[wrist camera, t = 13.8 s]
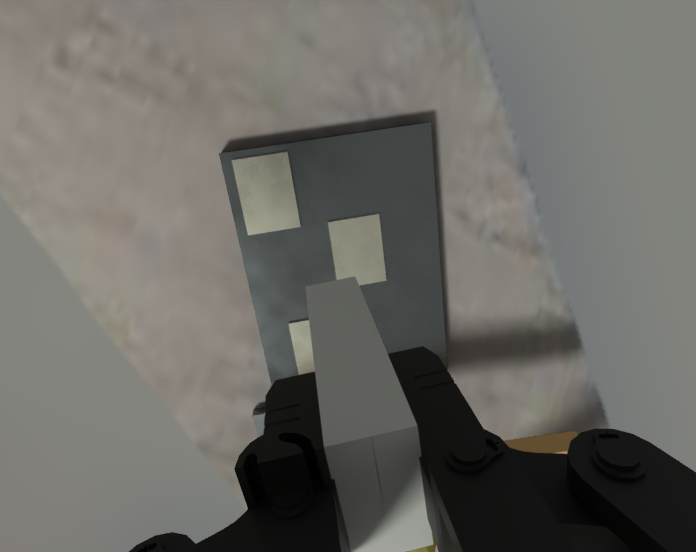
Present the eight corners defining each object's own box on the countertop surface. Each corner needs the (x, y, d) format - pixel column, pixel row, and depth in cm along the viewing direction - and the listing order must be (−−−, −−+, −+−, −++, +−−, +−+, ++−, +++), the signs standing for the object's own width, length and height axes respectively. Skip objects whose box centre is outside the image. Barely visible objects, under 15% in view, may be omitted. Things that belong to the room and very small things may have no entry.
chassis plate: (221, 152, 29) (218, 153, 28) (426, 122, 31) (432, 122, 29) (278, 404, 36) (278, 413, 35) (443, 371, 37) (448, 379, 36)
